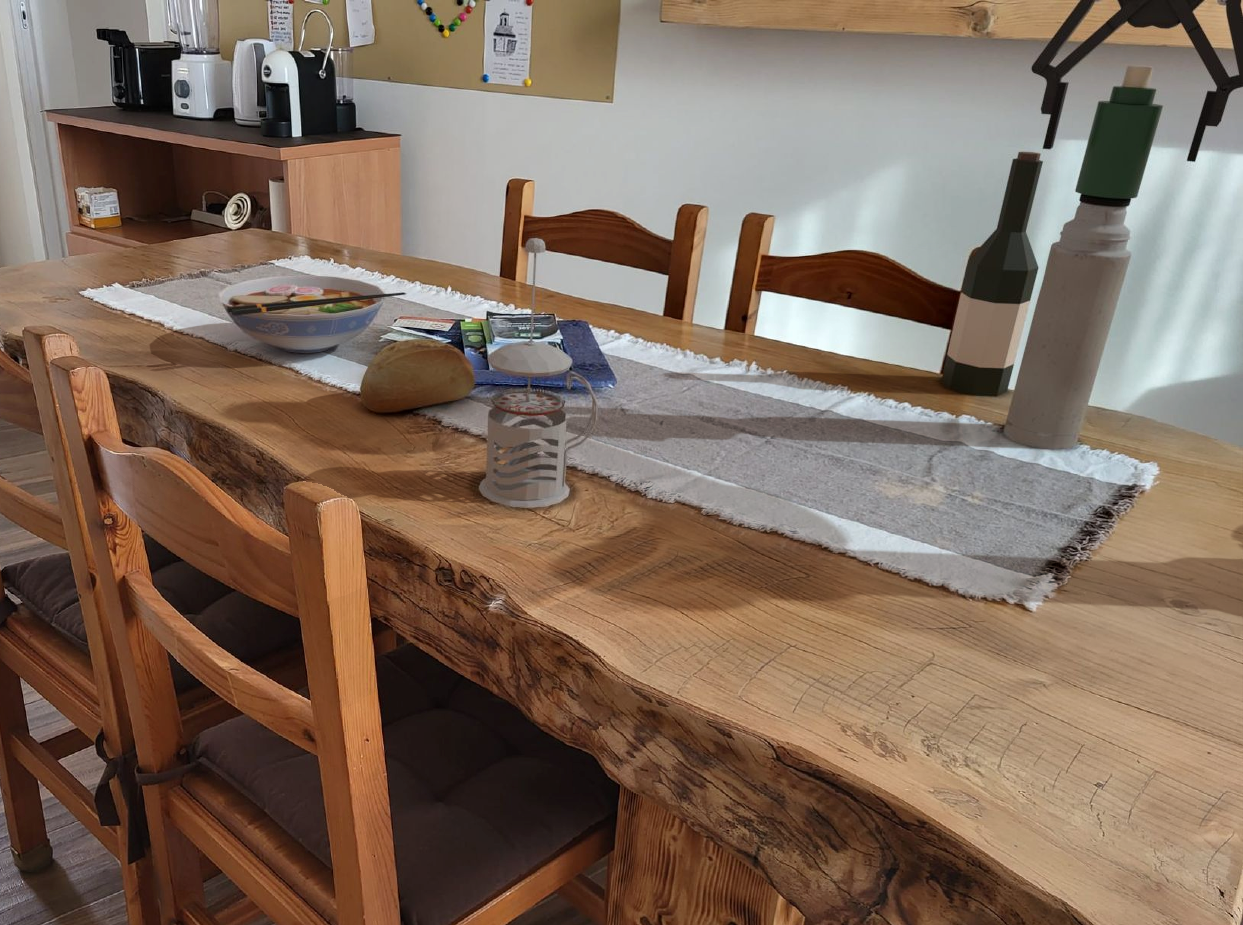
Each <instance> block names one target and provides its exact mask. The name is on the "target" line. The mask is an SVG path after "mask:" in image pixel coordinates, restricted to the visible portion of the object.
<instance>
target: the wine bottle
mask: <svg viewBox="0 0 1243 925" xmlns="http://www.w3.org/2000/svg"><path fill="white" fill-rule="evenodd" d="M1040 158H1041V153H1040V152H1034V151H1018V153H1017V157H1016V158H1012V160H1011V165H1010V169H1009V173H1008V174H1009V175H1008V179H1007V183H1006V187H1005V191H1004V195H1003V200H1002V205H1001V208H1000V214H999V216H998V217H999V218H998V220H997V226H996V228H995V229H994V231H993V232H992V233H991V234H990V235H989V237H988V238H987V239H985V241H984V242H983V243H982V244H981V245H980V246H979V247H978V248H977V250H975V252H974V253H973V254H972V255H971V256H970V257H969V259H968V260H967V264H966V269H965V274H964V278H963V281H962V286H961V292H960V294H959V300H958V304H957V309H956V312H955V317H954V323H953V327H952V332H951V336H950V340H949V344H948V349H947V353H946V357H945V363H944V367H943V371H942V374H941V375H942V376H941V380H940V383H941V384H942V385H943V386H945V387H946V389H948V390H950V391H954V392H957V393H960V394H965V395H969V396H971V397H972V396H973V397H995V398H996V397H1000V396H1001V395H1004V394H1006V393H1007V392H1008V390H1009V386H1010V382H1011V378H1012V375H1013V370H1014V366H1015V363H1016V359H1017V354H1018V351H1019V347H1020V342H1021V338H1022V334H1023V330H1024V327H1025V322H1026V320H1027V316H1028V310H1029V307H1030V303H1031V299H1032V295H1033V291H1034V287H1035V284H1036V280H1037V276H1038V271H1039V265H1038V262H1037V259H1036V256H1035V253H1034V251H1033V248H1032V245H1031V242H1030V239H1029V237H1028V234H1027V233H1028V232H1027V228H1028V224H1029V221H1030V216H1031V213H1032V208H1033V204H1034V200H1035V195H1036V192H1037V188H1038V184H1039V179H1040V176H1041V171H1042V168H1043V163H1044V161H1043V160H1040Z"/></svg>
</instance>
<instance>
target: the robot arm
mask: <svg viewBox="0 0 1243 925" xmlns="http://www.w3.org/2000/svg"><path fill="white" fill-rule="evenodd" d="M1102 1H1103V0H1079V2H1078V3H1077V4H1076V5H1075V7H1074V8H1073V9H1072V11H1071V12H1070V14H1069V15H1068V16H1067V17H1066V19H1065V20H1064V21H1063V23H1062V24H1061V26H1060V27H1059V28H1058V30H1057V31H1056V32H1055V33H1054V35H1053V36H1052V38H1051V39H1050V41H1049V42H1048V43H1047V45H1046V46H1045V47H1044V48H1043V50H1042V51H1041V53H1040V54H1039V55H1038V57H1037V58H1036V59H1035V61H1034V62H1033V64H1032V65H1031V68H1030V69H1031V72H1032V73H1033V74H1035V75H1038V76H1040V77H1042V78H1043V79H1045V81H1046V86H1045V89H1044V93H1043V98H1042V102H1041V105H1040V114H1041V115H1049V116H1050V117H1049V120H1048V125H1047V128H1046V132H1045V137H1044V142H1043V144H1042V150H1051V149H1053V148H1054V145H1055V141H1056V136H1057V132H1058V128H1059V124H1060V120H1061V117H1062V112H1063V109H1064V104H1065V100H1066V99H1065V98H1066V95H1067V92H1068V87H1069V84H1070V82H1069V81H1067V82H1066V81H1062V80H1063V78H1064V77H1065V76H1066V75H1068V73H1069V72H1071V71H1072V70H1073V69H1074V68H1075V67H1077V66H1078V65H1079V64H1080V63H1081V62H1082V61H1084V59H1086V58H1087V57H1088V56H1089V55H1090V54H1091V53H1093V51H1095V50H1096V49H1097V48H1098V47H1099V46H1100V45H1102V44H1103V43H1105V41H1107V39H1108V38H1110V37H1111V36H1112V35H1113V34H1114V33H1115V32H1116V31H1118V30H1119V29H1120V28H1121V27H1122V26H1124V25H1125V24H1126V23H1127V24H1128V25H1130V26H1131V27H1134V28H1138V29H1139V28H1143V29H1144V28H1148V27H1149V28H1150V27H1155V28H1159V29H1166V30H1167V29H1169V30H1170V29H1173V28H1175V27H1178V26H1179V25H1181V26H1182V27H1183V29H1184V32H1185V33H1186V34H1187V36H1188V38H1189V40H1190V41H1191V44H1192V45H1193V47H1194V49H1195V50H1196V52H1197V54H1198V56H1199V57H1200V59H1201V62H1202V63H1203V65H1204V66H1205V68H1206V70H1207V72H1208V74H1209V75H1210V78H1211V79H1212V81H1213V82H1214V84H1215V86H1216V88H1215V90H1207V92H1206V93H1205V94H1206V95H1205V97H1204V101H1203V104H1202V108H1201V111H1200V114H1199V118H1198V121H1197V124H1196V128H1195V131H1194V134H1193V138H1192V141H1191V144H1190V148H1189V151H1188V155H1187V157H1186V162H1192V163H1193V162H1194V163H1195V162H1196V160H1197V157H1198V154H1199V150H1200V147H1201V144H1202V140H1203V138H1204V134H1205V131H1206V128H1207V127H1218V126H1219V124H1220V123H1221V122H1222V119H1223V116H1224V113H1225V110H1226V106H1227V103H1228V99H1229V97H1230V95H1231V93H1232V92H1233V91H1234V90H1237V89H1241V88H1243V8H1242V2H1243V1H1242V0H1216V3H1217V4H1218V5H1219V6H1223V7H1224V6H1225V16H1226V19H1227V24H1228V25H1227V26H1228V30H1229V33H1230V39H1231V43H1232V48H1233V53H1234V58H1235V61H1236V62H1235V63H1236V66H1237V71H1238V72H1237V73H1238V74H1236V75H1231V76H1229V73H1228V72H1227V69H1225V67H1224V64H1223V63H1222V61H1221V59H1220V58H1219V56H1218V54H1217V52H1216V51H1215V48H1214V47H1213V46H1212V43H1211V42H1210V40H1209V38H1208V36H1207V35H1206V33H1205V31H1204V29H1203V28H1202V25H1201V24H1200V23H1199V20H1198V18H1197V17H1196V15H1195V13H1194V11H1195V10H1196V9H1197V8H1198V7H1199V6H1200V5H1201V4H1203V3H1204V2H1205V0H1116V1H1117V3H1118V5H1119V8H1120V9H1119V10H1118V11H1117V12H1115V13H1114V14H1113V15H1111V17H1110V18H1108V19H1107V21H1106V22H1105V23H1103V24H1102V25H1101V26H1100V27H1099V28H1098V29H1097V30H1095V31H1094V32H1093V33H1092V34H1091V35H1090V36H1089V37H1087V39H1086V40H1084V41H1083V42H1081V44H1079V45H1078V46H1077V47H1076V48H1075V49H1074V50H1073V51H1072V52H1070V53H1069V54H1068V55H1067V56H1066V57H1065V58H1064V59H1063V60H1062V61H1060V62H1059V63H1058V64H1057V65H1056V66H1054V65H1052V64H1051V63H1052V62H1053V61H1054V59H1055V58H1056V57H1057V55H1059V52H1060V51H1061V50H1062V49H1063V47H1064V46H1065V44H1066V43H1067V42H1068V40H1069V39H1070V38H1071V36H1072V35H1073V34H1074V33H1075V31H1076V30H1077V29H1078V27H1079V26H1080V25H1081V23H1082V22H1083V20H1084V19H1085V18H1086V17H1087V15H1088V14H1089V12H1090V11H1092V10H1091V9H1092V8H1093V6H1094V5H1095V3H1100V2H1102Z"/></svg>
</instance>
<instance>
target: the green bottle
mask: <svg viewBox="0 0 1243 925" xmlns="http://www.w3.org/2000/svg"><path fill="white" fill-rule="evenodd" d="M1153 72H1154V66H1147V65H1127V67H1126V70H1125V73H1124V76H1123V81H1122V85H1114V86H1112V89H1111V94H1110V96H1109V100H1099V101H1098V102H1097V106H1096V109H1095V113H1094V117H1093V121H1092V125H1091V129H1090V133H1089V136H1088V140H1087V144H1086V147H1085V152H1084V156H1083V159H1082V163H1081V166H1080V170H1079V174H1078V178H1077V182H1076V186H1075V190H1074V191H1075V193H1077V194H1080V195H1081V194H1084V195H1089V196H1096V197H1105V198H1119V199H1131V200H1132V199H1136V198H1138V195H1139V191H1140V188H1141V185H1142V181H1143V178H1144V174H1145V170H1146V167H1147V164H1148V160H1149V157H1150V153H1151V150H1152V146H1153V143H1154V139H1155V136H1156V132H1157V130H1158V125H1159V122H1160V119H1161V115H1162V111H1163V108H1164V105H1163V104H1158V103H1154V100H1155V97H1156V93H1157V88H1154V87H1149V86H1150V82H1151V79H1152V75H1153Z"/></svg>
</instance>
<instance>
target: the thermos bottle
mask: <svg viewBox="0 0 1243 925" xmlns="http://www.w3.org/2000/svg"><path fill="white" fill-rule="evenodd" d="M1078 200H1079V205H1078V206H1077V207H1076V211H1075V215H1074V218H1073V219H1071V220H1069V221H1066V222H1065V223H1064V224H1063V226H1062V230H1061V231H1060V232H1059V235H1060V238H1059V241H1056V242H1053V243H1051V245H1050V248H1049V253H1048V257H1047V261H1046V266H1045V270H1044V275H1043V279H1042V283H1041V286H1040V289H1039V293H1038V296H1037V300H1036V303H1035V308H1034V312H1033V316H1032V319H1031V322H1030V327H1029V332H1028V335H1027V338H1026V343H1025V346H1024V350H1023V354H1022V358H1021V363H1020V366H1019V370H1018V373H1017V378H1016V382H1015V385H1014V388H1013V393H1012V398H1011V401H1010V405H1009V409H1008V412H1007V416H1006V420H1005V424H1004V429H1003V434H1004V435H1005V437H1007V438H1008V439H1010V440H1012V441H1014V442H1016V443H1018V444H1022V445H1025V446H1029V447H1033V448H1037V449H1044V450H1056V451H1059V450H1060V451H1061V450H1069V449H1070V450H1071V449H1072V448H1075V447H1076V446H1077V445H1078V444H1077V443H1078V440H1079V437H1080V433H1081V430H1082V427H1083V423H1084V420H1085V416H1086V412H1087V409H1088V406H1089V402H1090V398H1091V396H1092V392H1093V388H1094V385H1095V382H1096V378H1097V375H1098V371H1099V369H1100V368H1099V367H1100V364H1101V361H1102V357H1103V354H1104V351H1105V347H1106V344H1107V340H1108V337H1109V333H1110V330H1111V326H1112V323H1113V320H1114V317H1115V313H1116V309H1117V306H1118V302H1119V299H1120V297H1121V292H1122V288H1123V285H1124V283H1125V282H1124V281H1125V278H1126V275H1127V271H1128V267H1129V266H1130V262H1131V258H1132V251H1130V250H1129V249H1127V246H1128V242H1129V240H1131V230H1130V229H1129V228H1128V227H1127V226H1126V225H1125V221H1126V216H1127V212H1128V211H1127V208H1128V207H1129V206H1130V205H1131V201H1132V198H1131V199H1119V198H1105V197H1096V196H1089V195H1084V194H1080V196H1079V199H1078Z"/></svg>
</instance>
